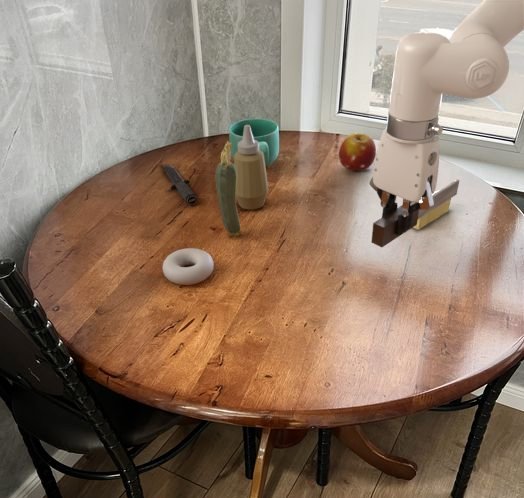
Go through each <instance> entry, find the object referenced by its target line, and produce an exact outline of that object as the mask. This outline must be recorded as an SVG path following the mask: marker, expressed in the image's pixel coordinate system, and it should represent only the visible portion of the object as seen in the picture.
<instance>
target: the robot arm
mask: <svg viewBox="0 0 524 498" xmlns="http://www.w3.org/2000/svg"><path fill="white" fill-rule="evenodd" d="M523 31H524V0H481V1H480V2H479V3H478V4H477V5H476V7H474V9H472V10H471V12H470V13H469V14H468V15H467V16H466V17H465V18H464V19H463V20H462V21H460V23H459V24H458V25H457V26H456V28H454V30H453V31H452V32H451V34H450V35H449V37H448V38H447V37H446V36H445V35H444V34H440V33H436V32H429V31H428V32H427V31H425V32H423V31H422V32H419V31H418V32H411V33H409V34H406V35H404V36H403V37H401V38H400V39H399V41H398V43H397V46H396V51H395V59H394V65H393V75H392V81H391V87H390V88H391V90H390V97H389V107H388V113H387V120H386V127H385V128H384V129H382V133H381V136H380V138H379V141H378V145H377V148H376V156H375V159H374V164H373V170H372V171H373V172H372V177H371V179H370V180H369V183H368V184H369V186H370V187H371V188H372V189H373V190H374V191H375V192H376V194H377V196H378V199H379V200H380V207H382V214H381V218H382V217H384V216H385V215H387V214H389V213H390V212H392V211H393V210H395V209H397V208H398V207H399V206H398V202H396V201H397V197H399V198H401V199H402V204H401V205H402V213H401V214H400V215H398V221H397V227H396V235H397V236H399V237H400V236H402V235H404V234H406V233H407V232H409V231H410V230H411V229H410V227H411V222H412V216H413V212H415V211H417V210H427V209H430V208H431V207H433V206H434V201H433V196H432V194H433V193H434V192H435V191H436V188H437V182H438V175H439V168H440V157H441V155H440V152H441V151H440V150H441V149H440V148H441V145H440V137H439V136H441V134H442V133H443V132H444V126H442V125H440V124H439V114H440V110H441V104H442V100H443V95H448V96H452V97H453V96H454V97H456V98H457V97H458V98H462V99H463V98H464V99H470V100H471V99H472V100H475V99H483V98H486V97H489V96H491V95H493V94H494V93H496V92H497V91H499V89H500V88H501V87H502V86H503V85H504V83H505V82H506V80H507V78H508V75H509V71H510V59H509V56H508V53H507V52H506V50H505V47H506V46H507V45H508V44H509V43H510V42H511V41H512V40H514V38H516V37H517V36H518V35H519V34H520V33H521V32H523ZM421 198H422V201H420V200H421ZM409 229H410V230H409ZM403 233H404V234H403Z"/></svg>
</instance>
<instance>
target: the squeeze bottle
mask: <svg viewBox="0 0 524 498" xmlns="http://www.w3.org/2000/svg"><path fill="white" fill-rule="evenodd" d="M233 164H234V165H235V167H236V171H237V182H236V192H235V199H236V200H237V203H238V205H239V207H240V208H242V209H245V210H250V211H251V210H257V209H260V208H262V207H263V206H264V204H265V202H266V199H267V196H268V193H269V182H268V175H267V169H266V167H267V166H266V167H265V160H264V154H263V152H262V151H260V150H259V142H258V141H257V140H254V139H253V135H252V132H251V128H250V125H245V126H244V132H243V139H242V140H241V141H239V142H238V151H237V152H236V153H235V155H234V160H233Z"/></svg>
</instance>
